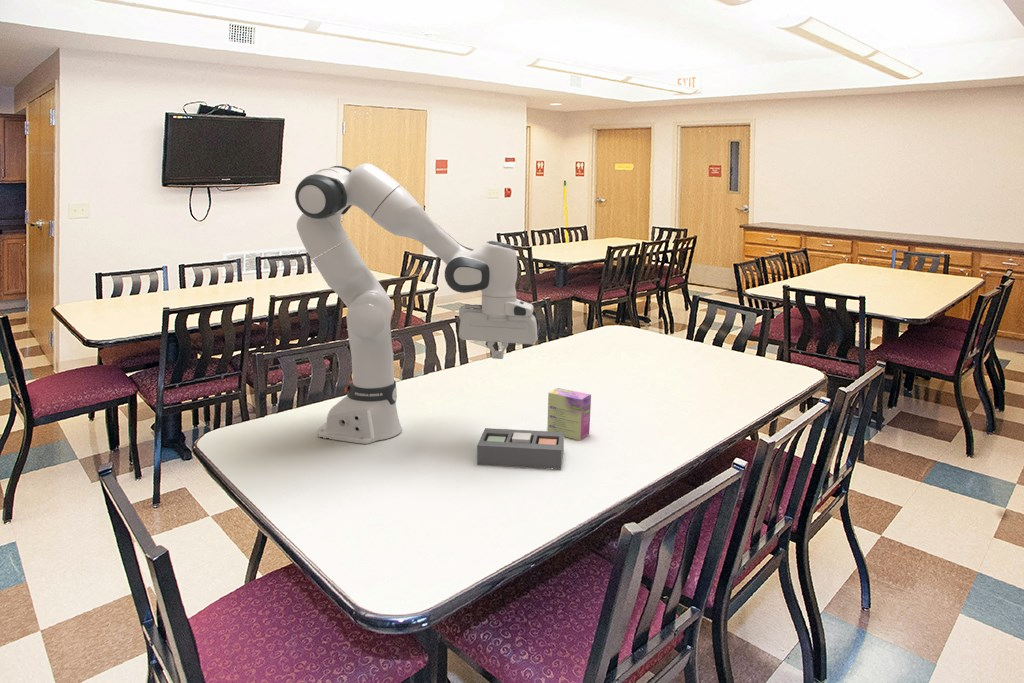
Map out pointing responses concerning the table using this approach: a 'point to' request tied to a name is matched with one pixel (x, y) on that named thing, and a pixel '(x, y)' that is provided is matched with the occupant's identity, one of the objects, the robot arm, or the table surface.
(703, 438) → the table surface
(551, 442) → the key terracotta
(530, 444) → the keyboard
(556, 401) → the box
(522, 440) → the key grey
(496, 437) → the key sage
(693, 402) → the table surface
